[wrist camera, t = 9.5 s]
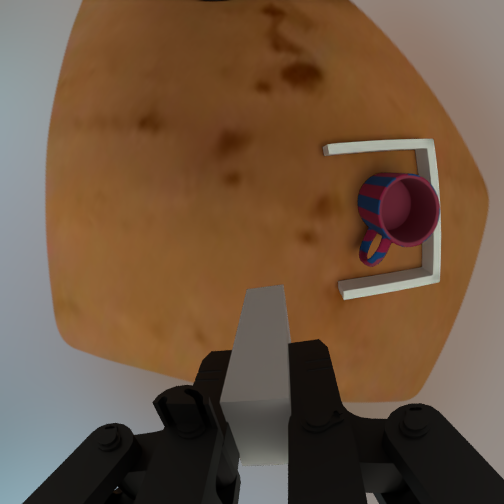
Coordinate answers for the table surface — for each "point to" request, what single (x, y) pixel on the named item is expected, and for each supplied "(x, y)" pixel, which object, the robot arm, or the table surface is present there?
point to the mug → (396, 212)
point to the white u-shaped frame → (429, 247)
